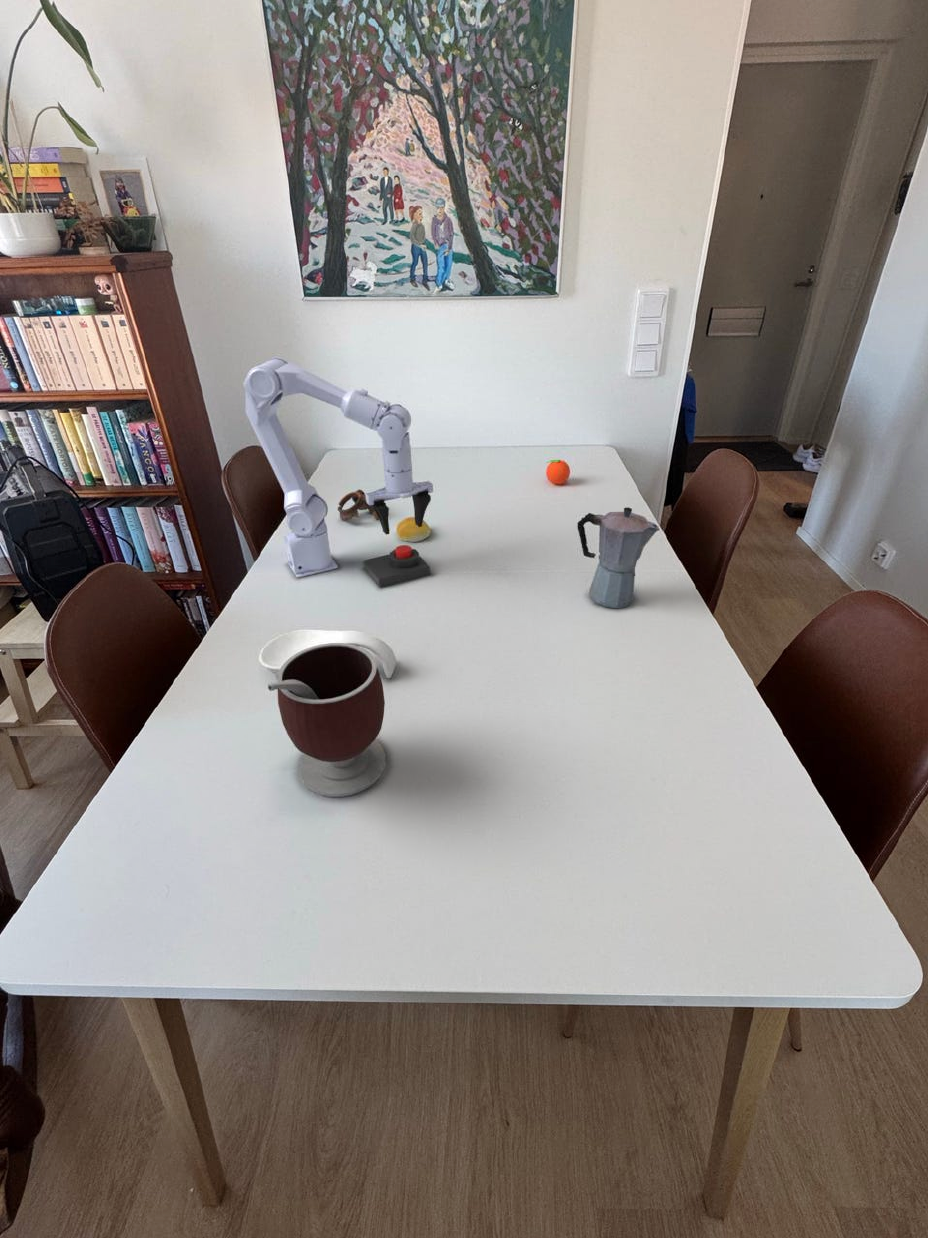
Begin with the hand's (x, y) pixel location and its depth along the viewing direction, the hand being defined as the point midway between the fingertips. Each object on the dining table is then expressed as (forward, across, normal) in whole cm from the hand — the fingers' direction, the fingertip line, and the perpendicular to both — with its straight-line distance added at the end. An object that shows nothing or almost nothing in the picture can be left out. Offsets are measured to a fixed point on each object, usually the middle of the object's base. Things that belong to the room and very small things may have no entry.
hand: (402, 528), depth 136 cm
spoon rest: (+10, -26, -27) cm, 39 cm away
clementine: (+10, +60, +27) cm, 67 cm away
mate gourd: (+10, -32, -51) cm, 61 cm away
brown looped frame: (+10, +1, +33) cm, 34 cm away
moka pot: (+10, +32, -32) cm, 46 cm away
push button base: (+10, -2, 0) cm, 10 cm away
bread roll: (+10, +9, +16) cm, 21 cm away
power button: (+6, 0, 0) cm, 6 cm away
